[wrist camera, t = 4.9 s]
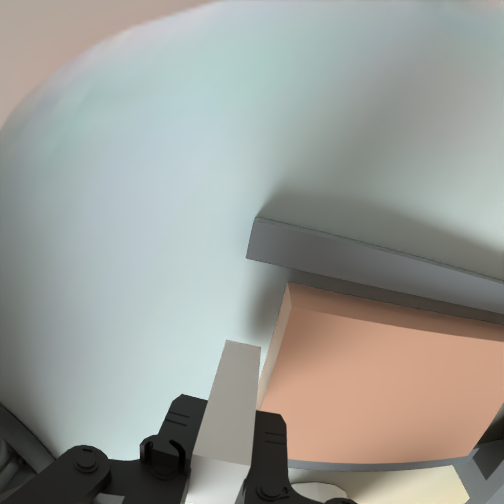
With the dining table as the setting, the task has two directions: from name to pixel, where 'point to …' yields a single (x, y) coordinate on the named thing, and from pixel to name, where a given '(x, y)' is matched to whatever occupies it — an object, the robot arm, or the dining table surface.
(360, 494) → the dining table surface
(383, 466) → the overhang dock
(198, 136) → the dining table surface
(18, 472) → the robot arm
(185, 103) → the dining table surface
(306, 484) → the white cup
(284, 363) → the salmon pink tile
